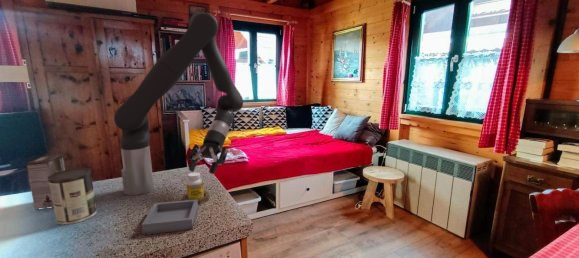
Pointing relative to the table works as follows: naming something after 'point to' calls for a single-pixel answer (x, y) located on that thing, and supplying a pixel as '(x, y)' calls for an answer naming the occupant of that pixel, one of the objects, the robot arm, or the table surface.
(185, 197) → the holder ring
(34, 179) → the coffee box
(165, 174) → the table surface
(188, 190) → the supplement bottle
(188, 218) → the tray
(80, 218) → the coffee can
